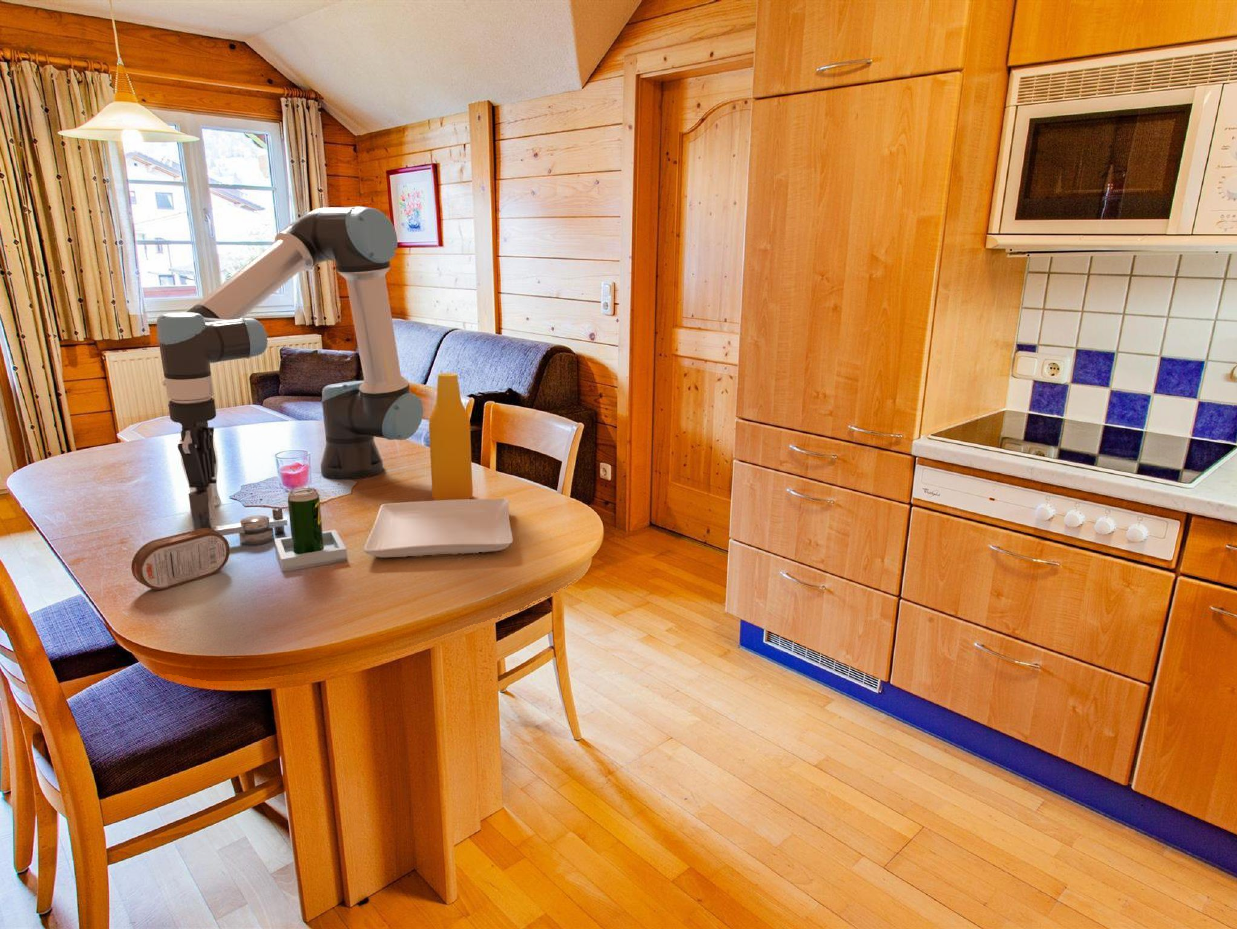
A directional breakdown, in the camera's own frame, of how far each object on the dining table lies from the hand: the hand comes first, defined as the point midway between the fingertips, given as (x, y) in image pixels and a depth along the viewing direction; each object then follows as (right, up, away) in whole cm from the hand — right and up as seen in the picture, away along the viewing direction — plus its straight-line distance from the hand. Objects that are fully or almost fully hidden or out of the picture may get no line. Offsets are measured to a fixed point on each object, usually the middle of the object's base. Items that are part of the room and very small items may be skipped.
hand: (207, 517), depth 145 cm
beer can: (+22, -6, -6) cm, 24 cm away
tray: (+22, -7, -5) cm, 24 cm away
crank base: (+5, -5, 0) cm, 7 cm away
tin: (+6, -10, -17) cm, 20 cm away
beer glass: (-12, +1, +21) cm, 24 cm away
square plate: (+44, -5, +6) cm, 45 cm away
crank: (+7, -3, 0) cm, 7 cm away
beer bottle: (+41, +2, +29) cm, 50 cm away
